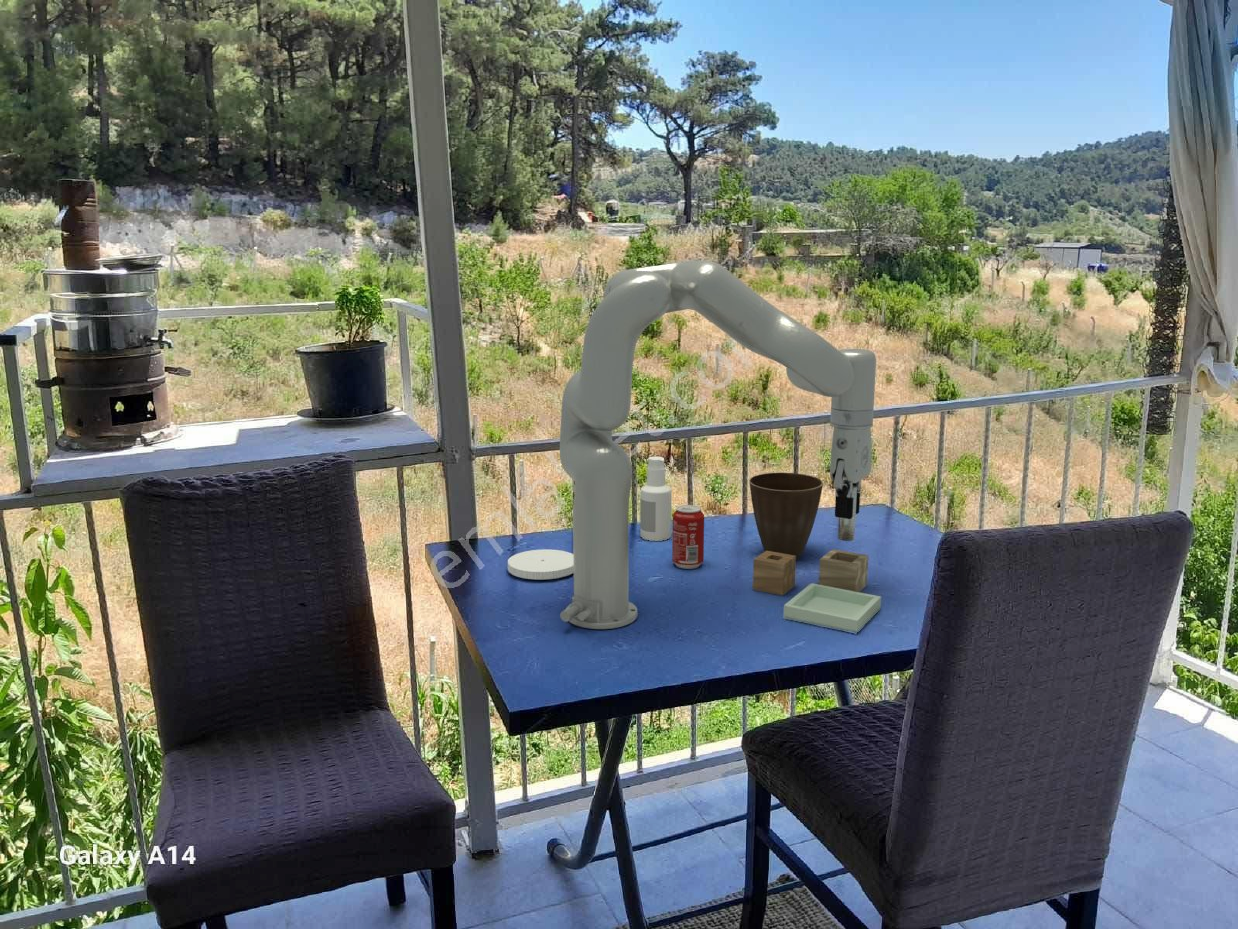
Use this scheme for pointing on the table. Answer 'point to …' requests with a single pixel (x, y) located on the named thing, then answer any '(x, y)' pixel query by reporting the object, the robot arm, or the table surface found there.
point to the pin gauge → (848, 521)
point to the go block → (843, 570)
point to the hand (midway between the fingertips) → (847, 514)
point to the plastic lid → (541, 564)
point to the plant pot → (785, 510)
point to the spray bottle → (655, 503)
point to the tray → (832, 607)
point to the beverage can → (688, 537)
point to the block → (774, 572)
